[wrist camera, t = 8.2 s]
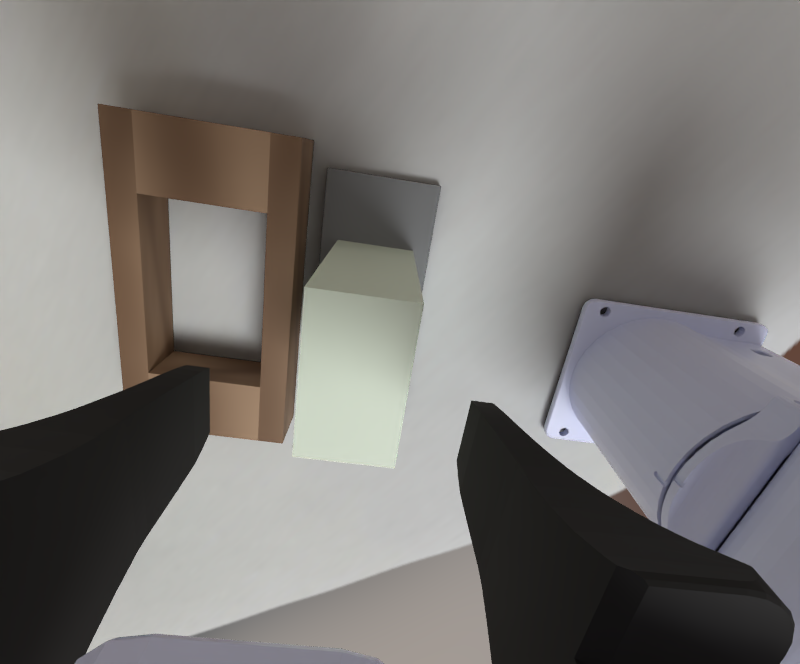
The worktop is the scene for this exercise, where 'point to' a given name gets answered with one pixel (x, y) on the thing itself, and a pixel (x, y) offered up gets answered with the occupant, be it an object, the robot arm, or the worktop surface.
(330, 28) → the worktop surface
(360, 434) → the sage block
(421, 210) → the mat
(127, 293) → the pocket block
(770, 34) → the worktop surface
